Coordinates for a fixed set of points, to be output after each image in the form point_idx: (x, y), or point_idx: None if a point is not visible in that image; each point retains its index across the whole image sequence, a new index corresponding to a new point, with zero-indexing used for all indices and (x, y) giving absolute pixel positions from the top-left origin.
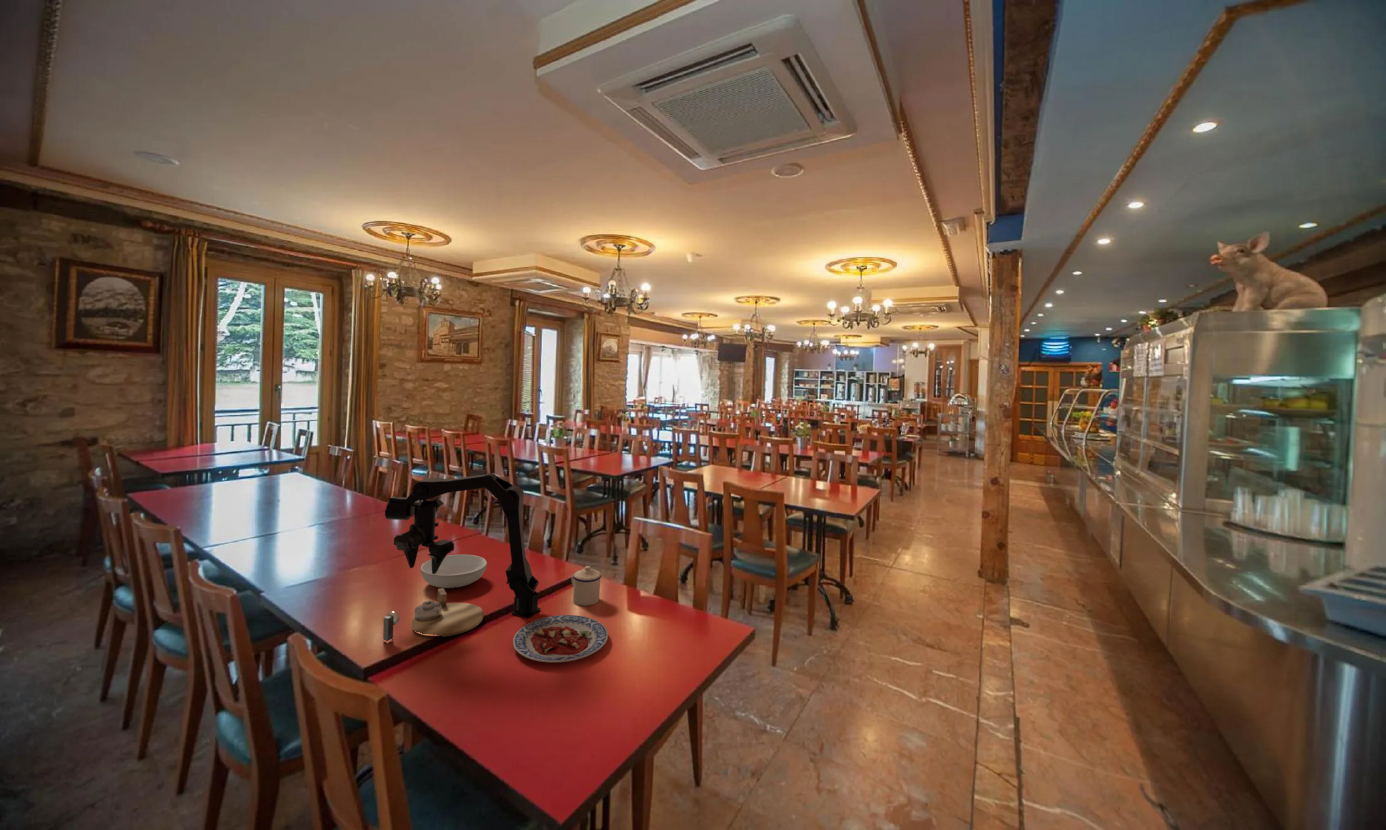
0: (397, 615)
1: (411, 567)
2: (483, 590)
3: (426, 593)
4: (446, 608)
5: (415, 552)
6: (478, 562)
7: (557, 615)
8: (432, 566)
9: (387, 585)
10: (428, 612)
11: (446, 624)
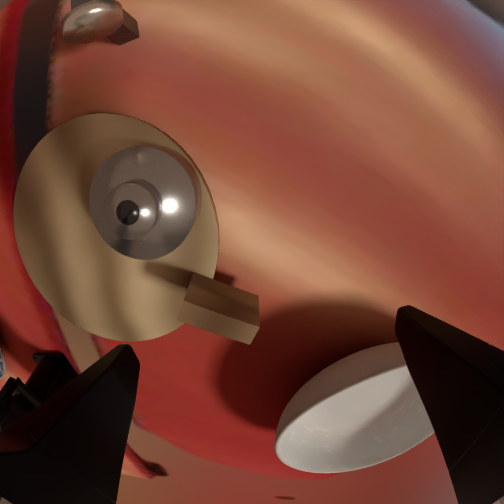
0: (62, 32)
1: (398, 315)
2: (247, 406)
3: (379, 313)
4: (164, 277)
5: (451, 441)
6: (349, 457)
7: (4, 370)
8: (82, 386)
9: (498, 267)
10: (96, 181)
11: (53, 205)
